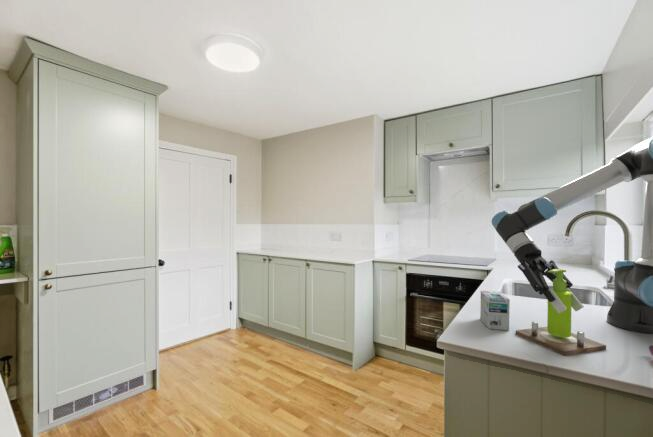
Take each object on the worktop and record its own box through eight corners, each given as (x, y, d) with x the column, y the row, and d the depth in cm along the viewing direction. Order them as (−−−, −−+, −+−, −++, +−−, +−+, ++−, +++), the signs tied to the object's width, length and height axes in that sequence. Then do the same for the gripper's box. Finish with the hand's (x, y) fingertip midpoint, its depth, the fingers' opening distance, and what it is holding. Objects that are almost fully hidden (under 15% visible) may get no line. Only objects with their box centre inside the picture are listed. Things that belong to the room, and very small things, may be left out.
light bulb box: (509, 331, 105) (510, 299, 105) (488, 329, 107) (488, 297, 106) (499, 320, 116) (499, 291, 115) (479, 318, 117) (479, 290, 117)
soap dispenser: (540, 331, 99) (541, 268, 98) (556, 328, 101) (557, 267, 100) (559, 339, 93) (559, 272, 92) (575, 335, 95) (576, 270, 94)
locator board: (552, 329, 107) (553, 314, 107) (606, 349, 92) (606, 331, 91) (515, 334, 102) (515, 318, 102) (564, 355, 87) (565, 337, 87)
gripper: (538, 254, 114) (585, 313, 99) (495, 256, 109) (538, 318, 93) (552, 241, 109) (604, 301, 93) (508, 242, 103) (555, 306, 88)
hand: (571, 309), depth 93 cm, fingers open, 6 cm apart
